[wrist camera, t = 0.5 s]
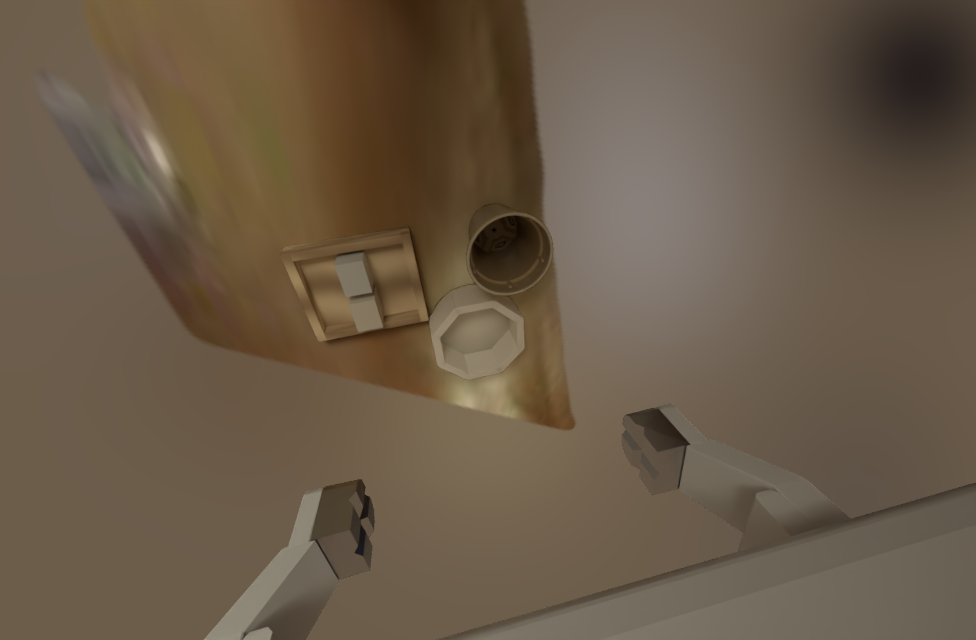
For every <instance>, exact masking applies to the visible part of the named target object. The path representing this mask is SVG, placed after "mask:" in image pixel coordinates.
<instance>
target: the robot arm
mask: <svg viewBox="0 0 976 640" xmlns="http://www.w3.org/2000/svg"><path fill="white" fill-rule="evenodd" d="M623 425H624V427H625V428H626V430H625V432H624V433H623V435H622V445H623V449H624V452H625V454H626V457H627V458H628V460H629V462H630V463H631V465H633V466H634V467H636V468H638V469H640V478H641V480H642V481H643V483H644V484H645V486H646V487H647V489H648V490H649V492H650V493H651V495H655V494H660V493H664V492H668V491H672V490H677V489H679V491H681V492H682V493H683V494H685V495H686V496H688V497H689V498H691V499H692V500H694V501H696V502H697V503H699V504H700V505H702V506H703V507H705V508H706V509H708V510H709V511H711V512H712V513H714V514H716V515H717V516H718V517H720V518H721V519H723V520H725V521H726V522H727V523H729V524H730V525H732V526H734V527H735V528H737V529H738V530H740V531H741V532H743V535H742V538H741V541H740V544H739V548H738V552H735V553H732V554H728V555H725V556H722V557H718V558H715V559H711V560H708V561H704V562H701V563H698V564H694V565H691V566H687V567H684V568H681V569H677V570H674V571H670V572H667V573H663V574H660V575H656V576H653V577H650V578H646V579H643V580H639V581H636V582H632V583H629V584H626V585H622V586H619V587H615V588H612V589H608V590H605V591H601V592H598V593H595V594H591V595H588V596H584V597H581V598H577V599H574V600H570V601H567V602H564V603H560V604H557V605H553V606H550V607H546V608H543V609H540V610H536V611H533V612H529V613H526V614H522V615H519V616H516V617H512V618H509V619H506V620H502V621H498V622H495V623H492V624H488V625H485V626H482V627H478V628H474V629H471V630H468V631H464V632H461V633H457V634H454V635H450V636H447V637H444V638H440V639H437V640H976V483H972V484H968V485H965V486H962V487H958V488H955V489H952V490H948V491H944V492H941V493H937V494H934V495H931V496H927V497H924V498H920V499H917V500H914V501H910V502H907V503H903V504H900V505H897V506H893V507H889V508H886V509H883V510H879V511H876V512H872V513H869V514H865V515H862V516H859V517H855V518H852V519H851V518H850V517H848V516H847V515H846V514H845V513H844V512H842V510H840V509H839V508H838V507H837V506H836V505H835V504H833V503H832V502H831V501H830V500H829V499H828V498H826V496H824V495H823V494H822V493H821V492H819V490H817V488H815V487H814V486H813V485H812V484H811V483H810V482H808V481H807V480H806V479H805V478H803V477H800V476H798V475H796V474H793V473H791V472H788V471H786V470H784V469H782V468H779V467H777V466H774V465H772V464H770V463H767V462H765V461H762V460H760V459H758V458H755V457H753V456H751V455H748V454H746V453H744V452H741V451H739V450H737V449H734V448H732V447H730V446H727V445H725V444H722V443H720V442H718V441H715V440H713V439H711V440H707V439H706V438H705V437H704V436H703V435H702V434H701V433H700V432H699V431H698V430H697V429H696V428H695V427H694V426H693V425H692V424H691V423H690V422H689V421H688V419H686V418H685V416H684V415H683V414H682V413H681V412H680V411H679V410H678V409H677V408H676V407H675V406H674V405H671V404H668V405H663V406H659V407H656V408H651V409H647V410H643V411H639V412H635V413H631V414H627V415H625V416H624V418H623ZM374 523H375V520H374V508H373V504H372V501H371V499H370V497H369V496H367V495H365V485H364V483H363V481H362V479H358V480H354V481H349V482H344V483H340V484H335V485H330V486H326V487H322V488H318V489H313V490H308V491H307V492H306V493H305V495H304V496H303V499H302V502H301V506H300V509H299V513H298V516H297V519H296V522H295V526H294V529H293V532H292V536H291V539H290V542H289V546H288V547H286V548H283V549H282V550H281V551H280V552H279V553H278V554H277V556H276V557H275V558H274V559H273V560H272V561H271V563H270V564H269V565H268V566H267V567H266V568H265V569H264V571H263V572H262V573H261V574H260V575H259V577H258V578H257V579H256V580H255V581H254V582H253V583H252V585H251V586H250V587H249V588H248V589H247V590H246V592H245V593H244V594H243V595H242V596H241V597H240V598H239V600H238V601H237V602H236V603H235V604H234V605H233V607H232V608H231V609H230V610H229V611H228V612H227V614H226V615H225V616H224V617H223V618H222V619H221V621H220V622H219V623H218V624H217V625H216V626H215V628H214V629H213V630H212V631H211V632H210V634H209V635H208V636H207V637H206V638H205V639H204V640H306V638H307V636H308V635H309V633H310V631H311V629H312V628H313V626H314V624H315V623H316V621H317V619H318V617H319V616H320V614H321V612H322V610H323V609H324V607H325V605H326V604H327V602H328V600H329V598H330V597H331V595H332V593H333V591H334V590H335V588H336V586H337V584H338V583H339V579H343V578H346V577H350V576H353V575H356V574H360V573H363V572H366V571H370V566H371V556H372V544H371V542H370V540H369V537H370V536H371V534H372V533H373V531H374Z"/></svg>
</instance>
